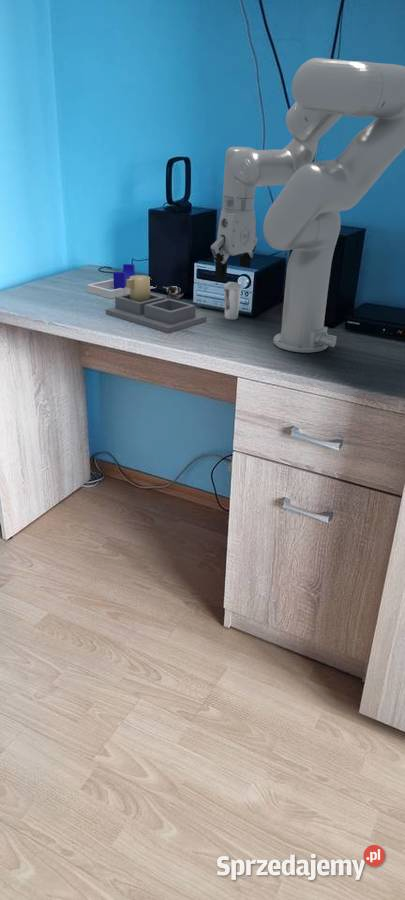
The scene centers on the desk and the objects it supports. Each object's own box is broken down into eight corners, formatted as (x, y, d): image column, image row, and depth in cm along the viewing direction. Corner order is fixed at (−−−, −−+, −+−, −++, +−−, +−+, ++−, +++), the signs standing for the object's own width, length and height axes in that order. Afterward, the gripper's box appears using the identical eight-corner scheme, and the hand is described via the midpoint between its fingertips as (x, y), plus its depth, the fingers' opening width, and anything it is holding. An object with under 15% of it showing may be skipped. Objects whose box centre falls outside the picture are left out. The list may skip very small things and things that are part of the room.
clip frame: (156, 287, 196) (156, 280, 195) (110, 298, 184) (110, 291, 183) (132, 281, 201) (132, 274, 201) (87, 291, 189) (86, 284, 188)
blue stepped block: (120, 283, 198) (119, 263, 195) (134, 284, 197) (134, 264, 195) (108, 293, 187) (108, 272, 185) (124, 294, 187) (123, 273, 184)
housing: (206, 321, 168) (207, 284, 163) (168, 333, 158) (168, 294, 154) (144, 303, 180) (144, 269, 176) (105, 313, 170) (104, 277, 166)
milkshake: (236, 322, 168) (238, 282, 163) (218, 318, 170) (220, 279, 166) (246, 318, 171) (248, 279, 166) (229, 314, 174) (231, 276, 169)
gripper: (227, 209, 150) (222, 284, 158) (271, 203, 162) (264, 273, 170) (202, 204, 154) (198, 278, 162) (247, 198, 166) (241, 267, 174)
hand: (232, 275), depth 166 cm, fingers open, 9 cm apart
